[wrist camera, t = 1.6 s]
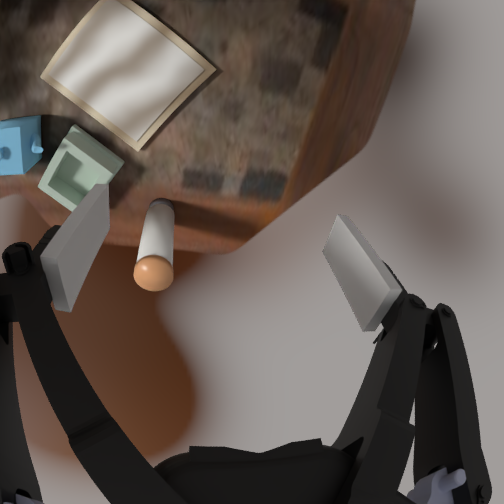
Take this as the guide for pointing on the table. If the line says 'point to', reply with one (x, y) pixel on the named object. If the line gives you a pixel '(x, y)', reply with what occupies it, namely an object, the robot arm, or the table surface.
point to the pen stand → (78, 168)
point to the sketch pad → (126, 69)
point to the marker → (156, 247)
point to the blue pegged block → (20, 144)
